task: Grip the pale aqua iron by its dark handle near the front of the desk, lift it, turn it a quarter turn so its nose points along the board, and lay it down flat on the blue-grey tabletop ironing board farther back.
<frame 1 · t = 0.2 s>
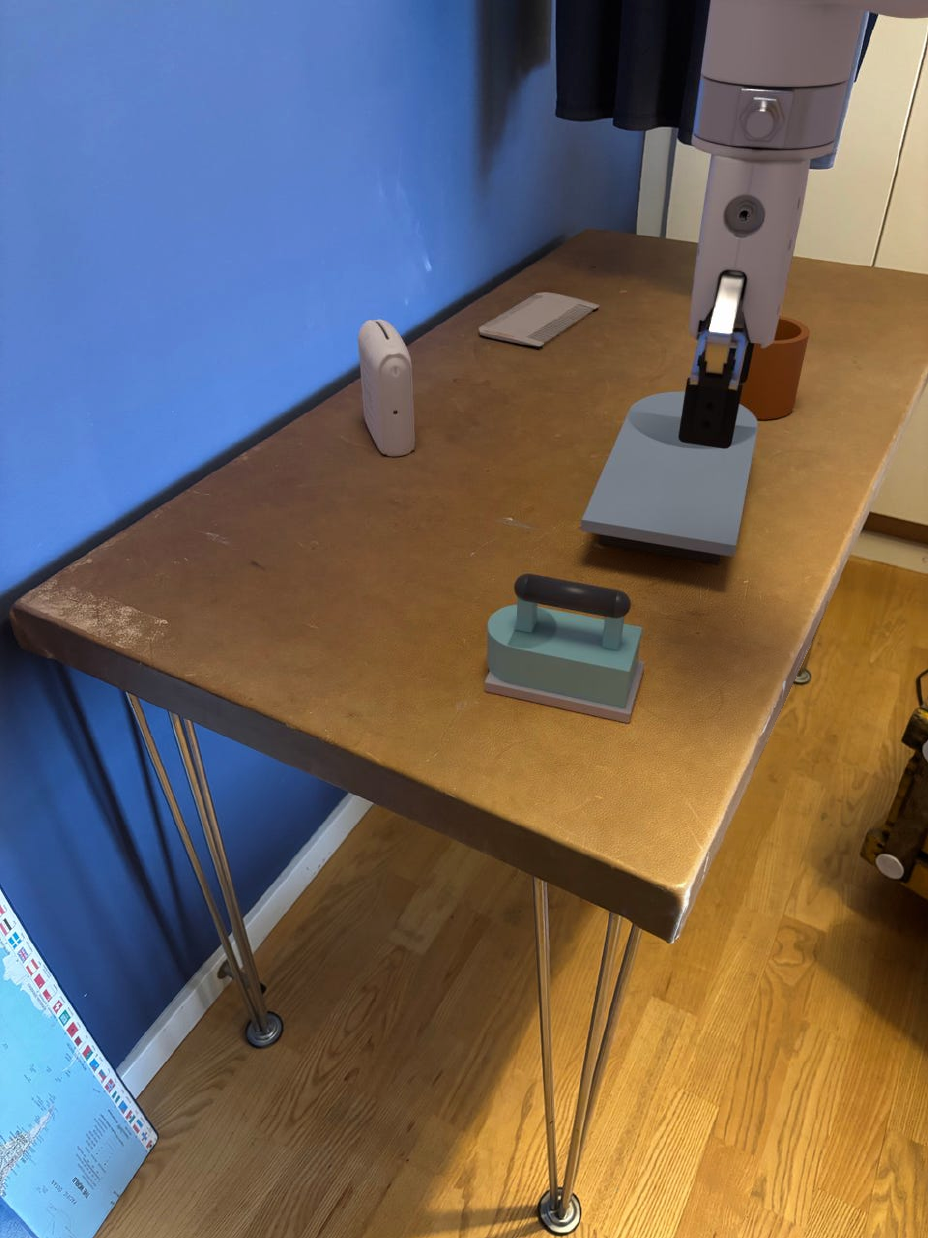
hand: (714, 409, 60), 21 cm above the table, tool pointing down, fingers open, 9 cm apart
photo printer: (389, 437, 101), on the table
brown cup: (757, 399, 108), on the table
iron: (564, 681, 70), on the table
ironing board: (672, 505, 89), on the table
grooming comb: (539, 321, 127), on the table
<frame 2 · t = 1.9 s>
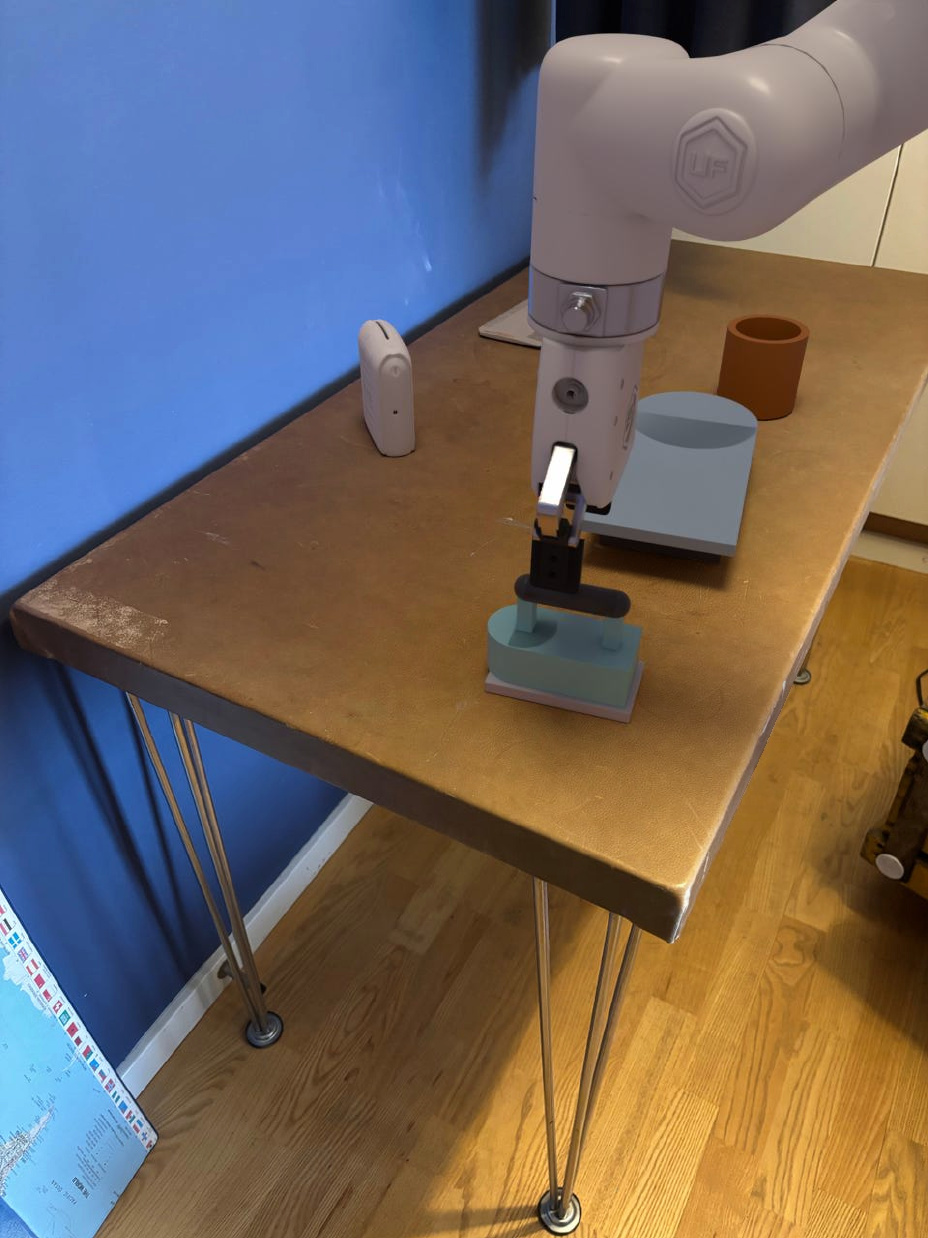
hand: (572, 547, 62), 12 cm above the table, tool pointing down, fingers open, 9 cm apart
nothing on the table moved.
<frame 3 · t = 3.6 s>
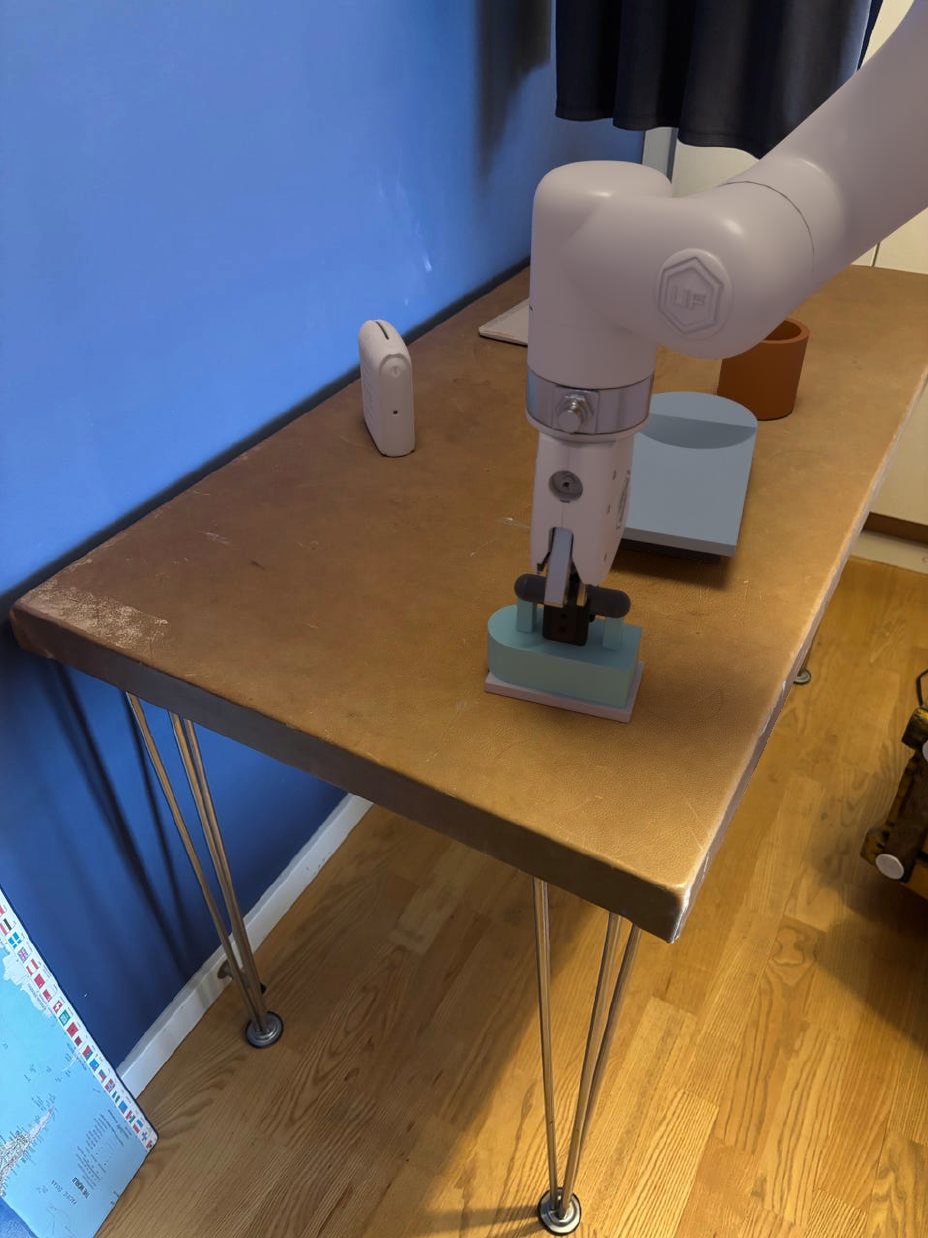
hand: (569, 627, 66), 5 cm above the table, tool pointing down, fingers closed on iron
iron: (564, 681, 70), on the table, touching gripper
everything else where it was.
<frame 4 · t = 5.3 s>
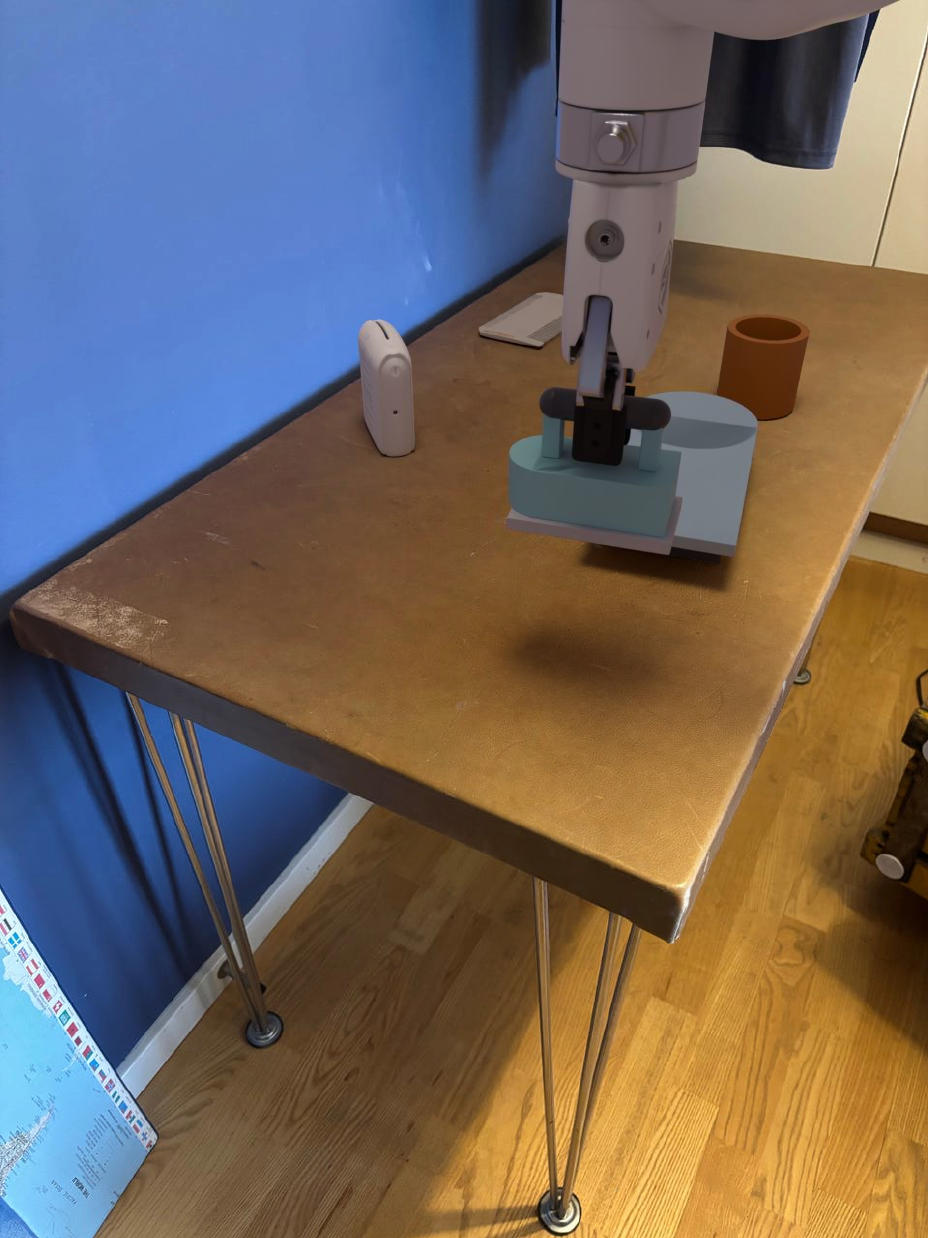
hand: (601, 449, 59), 19 cm above the table, tool pointing down, fingers closed on iron
iron: (594, 519, 63), point 13 cm above the table, touching gripper
everything else where it was.
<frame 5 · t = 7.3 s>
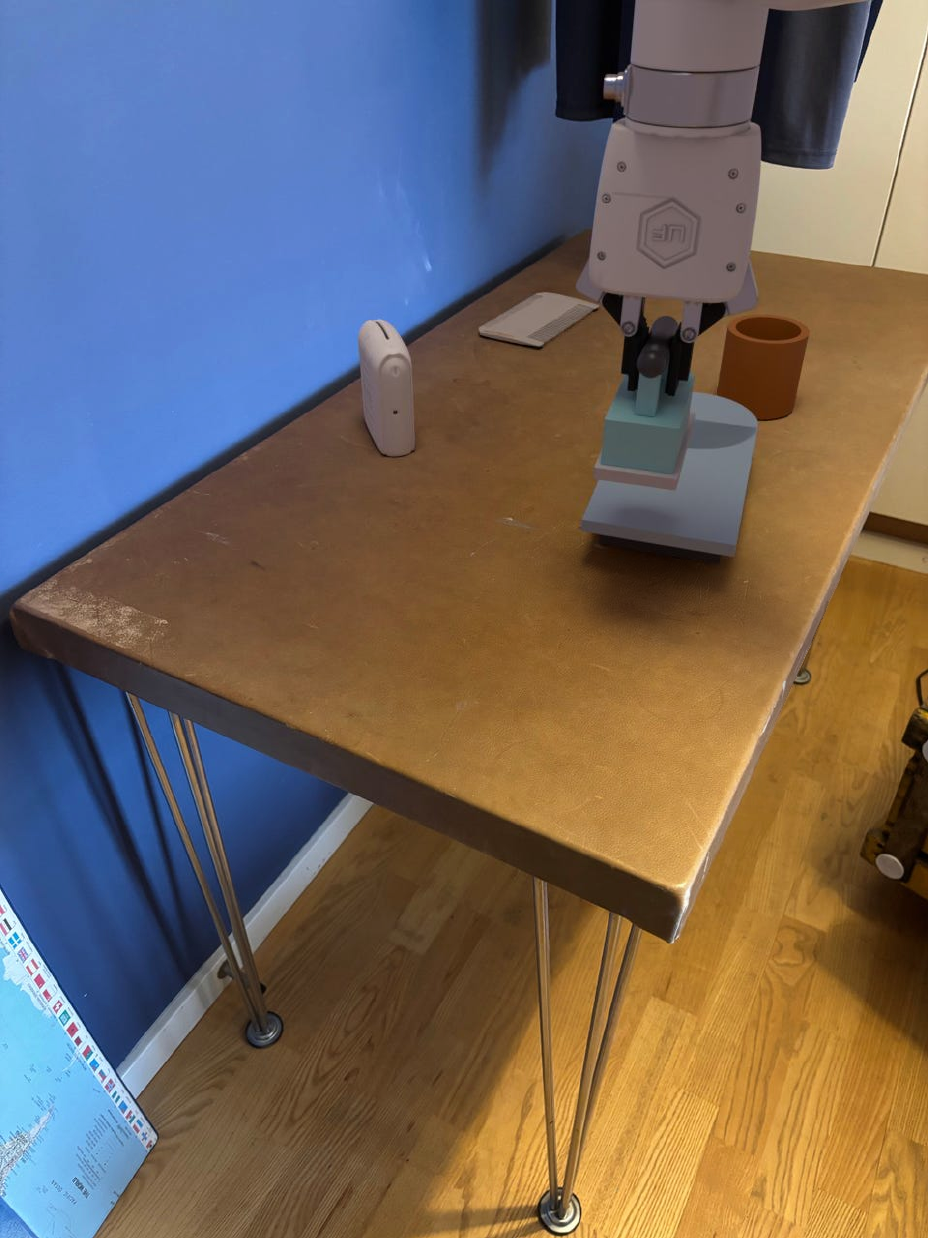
hand: (653, 384, 66), 19 cm above the table, tool pointing down, fingers closed on iron
iron: (645, 450, 70), point 14 cm above the table, touching gripper
everything else where it was.
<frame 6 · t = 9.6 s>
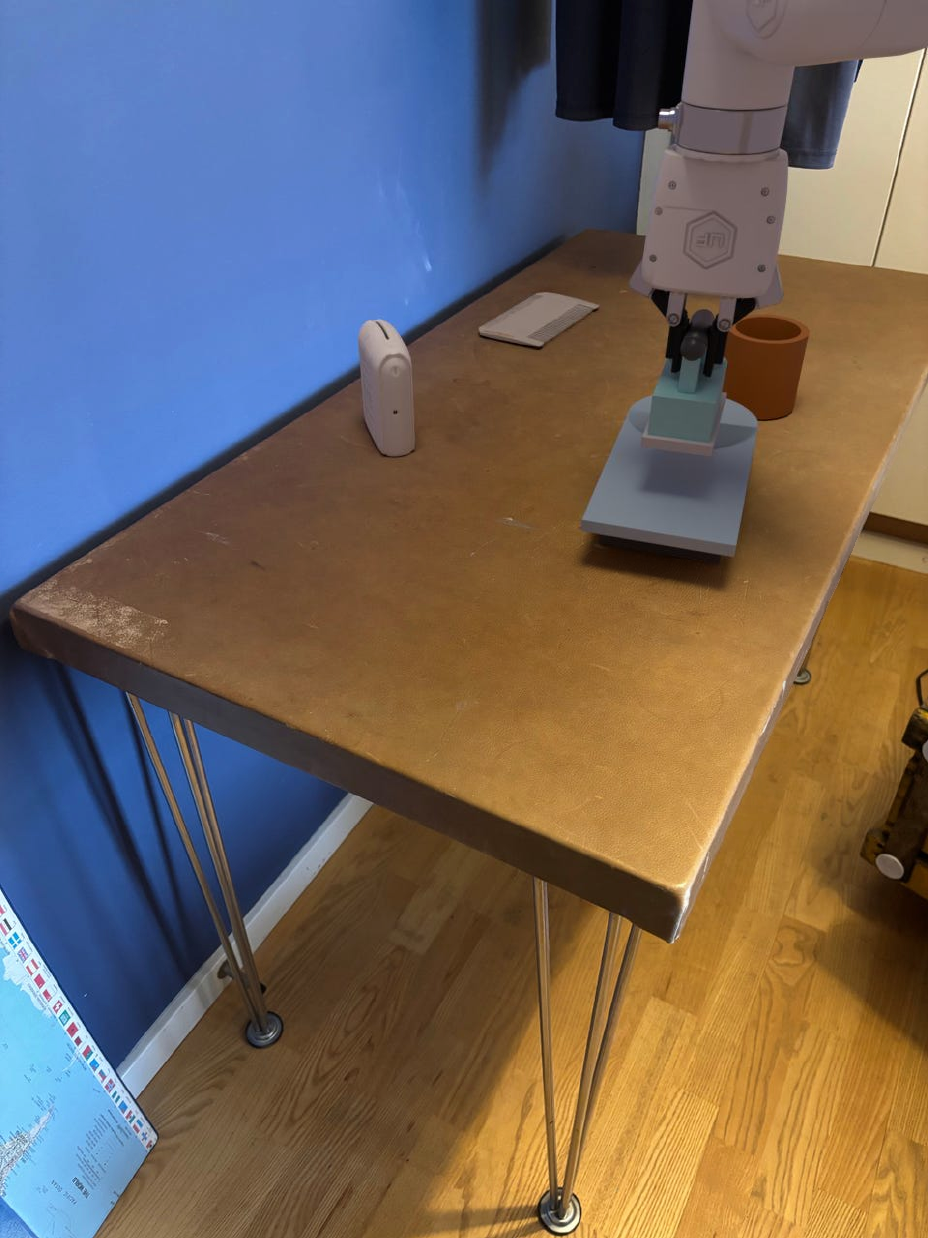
hand: (693, 367, 78), 15 cm above the table, tool pointing down, fingers closed on iron
iron: (684, 423, 82), point 10 cm above the table, touching gripper
everything else where it was.
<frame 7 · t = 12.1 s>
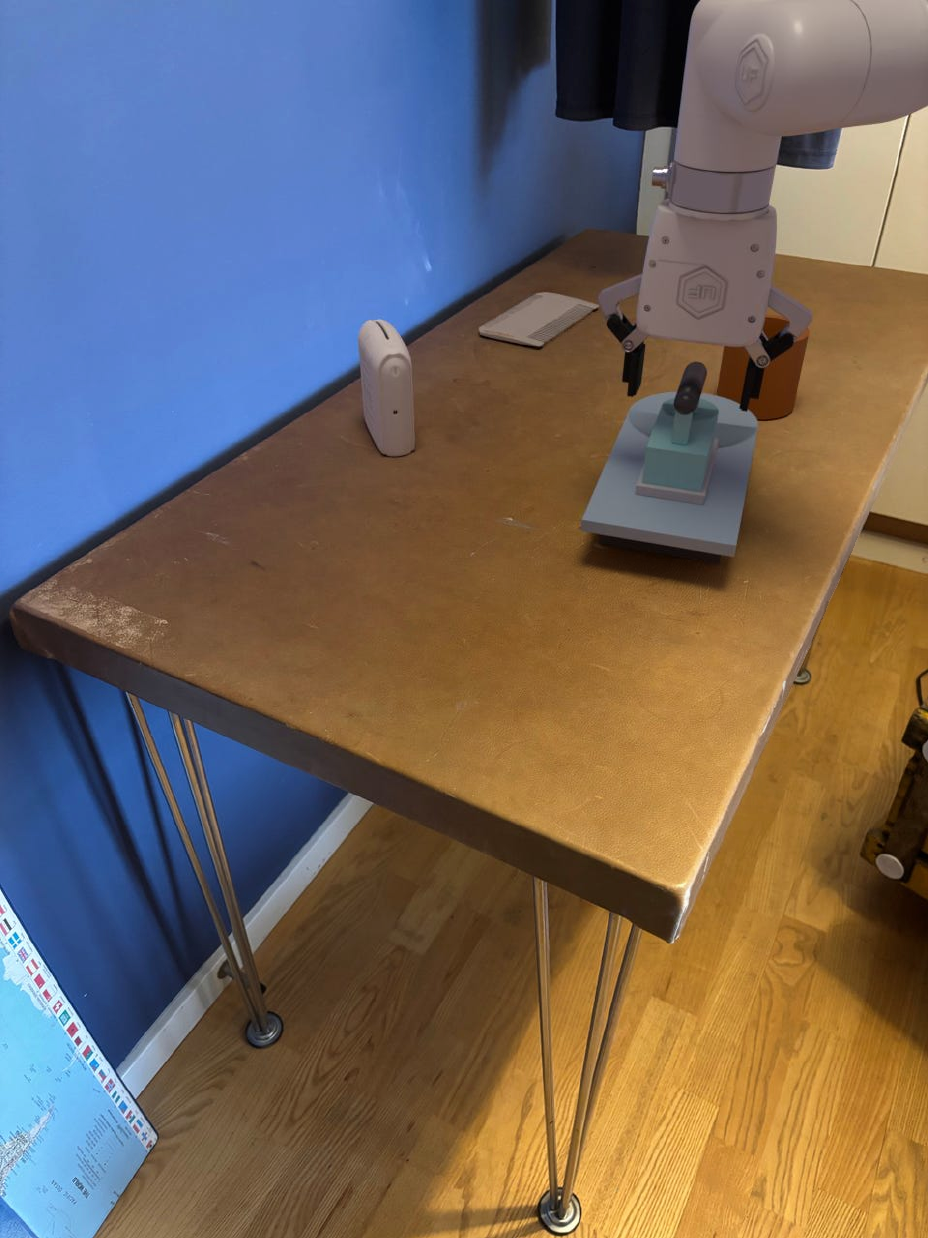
hand: (688, 397, 80), 12 cm above the table, tool pointing down, fingers open, 9 cm apart
iron: (677, 470, 84), point 5 cm above the table, touching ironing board
everything else where it was.
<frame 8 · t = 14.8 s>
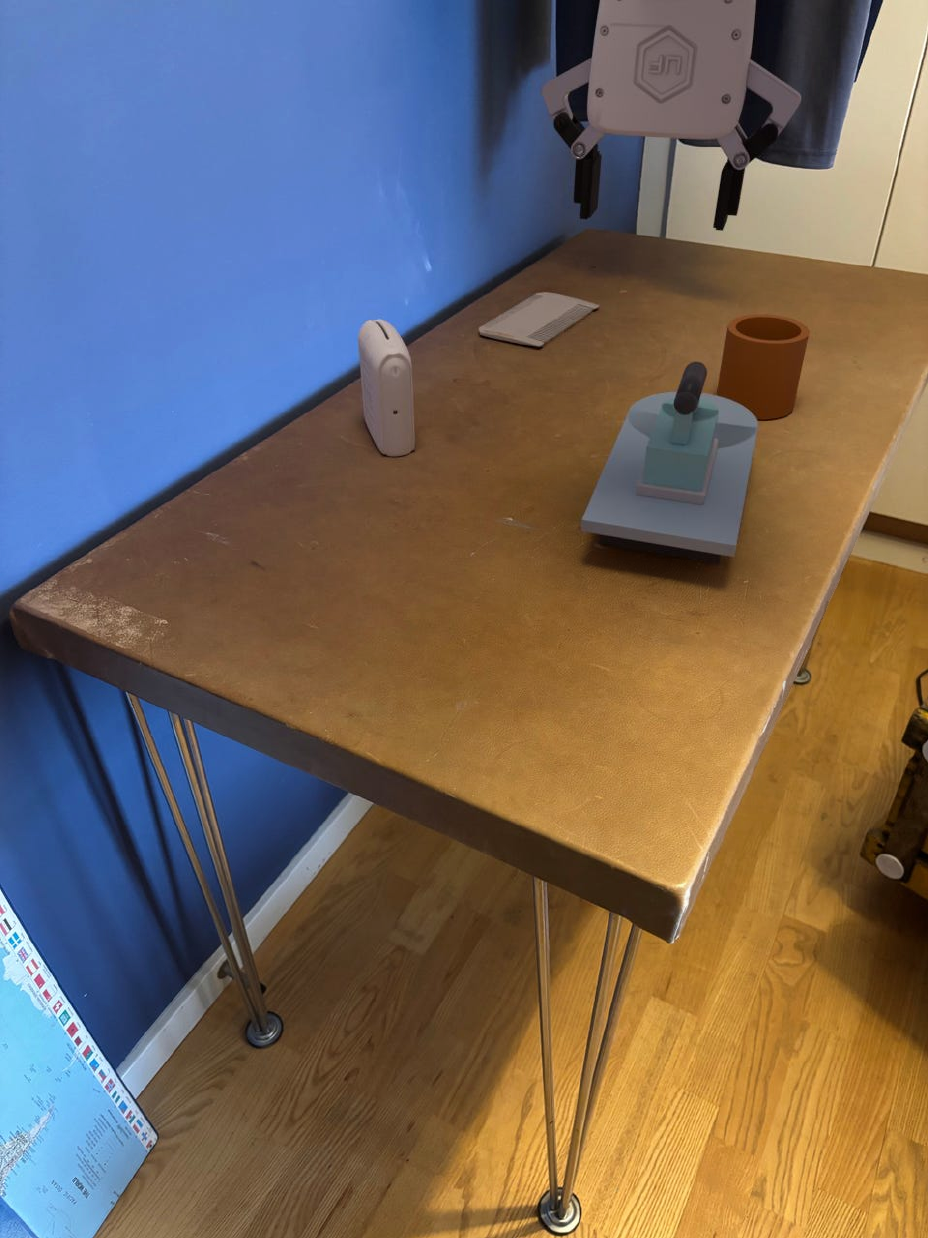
hand: (653, 219, 67), 28 cm above the table, tool pointing down, fingers open, 9 cm apart
nothing on the table moved.
at the end: iron inside the target area on the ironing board (3.1 cm from its centre), point 5.0 cm above the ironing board's base; iron tilted 0°; the gripper is holding nothing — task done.
